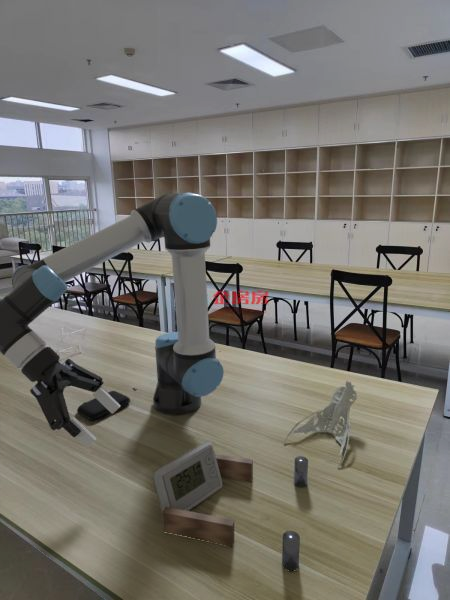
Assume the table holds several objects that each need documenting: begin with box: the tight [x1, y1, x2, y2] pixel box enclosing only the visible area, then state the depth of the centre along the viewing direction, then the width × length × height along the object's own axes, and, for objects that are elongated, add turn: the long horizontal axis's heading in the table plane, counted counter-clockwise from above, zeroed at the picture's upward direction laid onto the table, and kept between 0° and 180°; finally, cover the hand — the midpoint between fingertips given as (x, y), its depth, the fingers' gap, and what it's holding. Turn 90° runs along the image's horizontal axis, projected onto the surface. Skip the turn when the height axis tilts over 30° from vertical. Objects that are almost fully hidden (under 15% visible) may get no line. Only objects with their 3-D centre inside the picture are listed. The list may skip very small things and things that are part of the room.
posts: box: [281, 455, 309, 572], centre depth 84 cm, size 3×25×6 cm, turn 165°
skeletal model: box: [283, 380, 358, 468], centre depth 112 cm, size 16×9×25 cm
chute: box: [162, 453, 254, 548], centre depth 89 cm, size 14×20×5 cm
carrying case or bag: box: [77, 390, 131, 422], centre depth 129 cm, size 11×3×15 cm
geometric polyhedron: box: [56, 327, 87, 354], centre depth 175 cm, size 12×11×9 cm
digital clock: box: [152, 441, 223, 516], centre depth 89 cm, size 16×9×11 cm, turn 123°
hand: (105, 425), depth 91 cm, fingers open, 13 cm apart
